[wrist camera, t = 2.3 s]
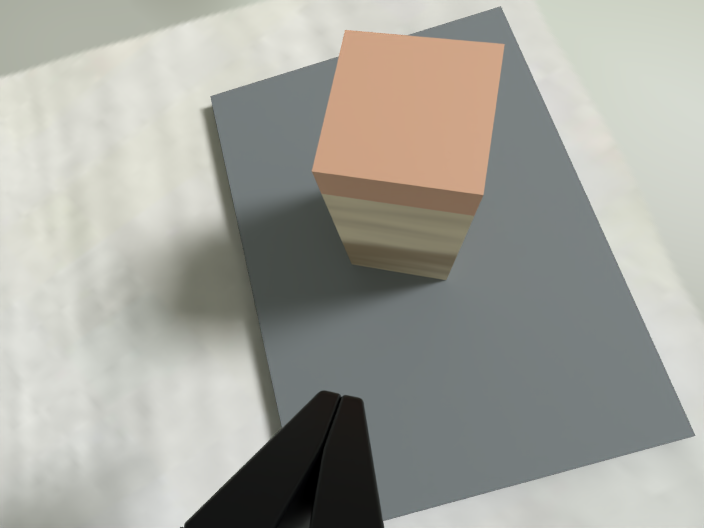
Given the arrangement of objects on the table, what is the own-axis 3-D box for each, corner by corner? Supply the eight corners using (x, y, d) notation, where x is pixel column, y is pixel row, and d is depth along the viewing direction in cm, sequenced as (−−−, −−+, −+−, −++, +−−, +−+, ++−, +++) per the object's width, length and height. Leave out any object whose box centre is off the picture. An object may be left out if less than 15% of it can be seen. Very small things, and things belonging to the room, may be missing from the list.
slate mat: (683, 433, 19) (695, 435, 18) (310, 535, 20) (306, 541, 19) (497, 17, 25) (500, 6, 24) (216, 104, 26) (210, 96, 25)
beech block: (446, 280, 21) (483, 194, 11) (351, 264, 22) (311, 171, 12) (460, 191, 22) (504, 44, 12) (369, 178, 23) (345, 30, 13)
